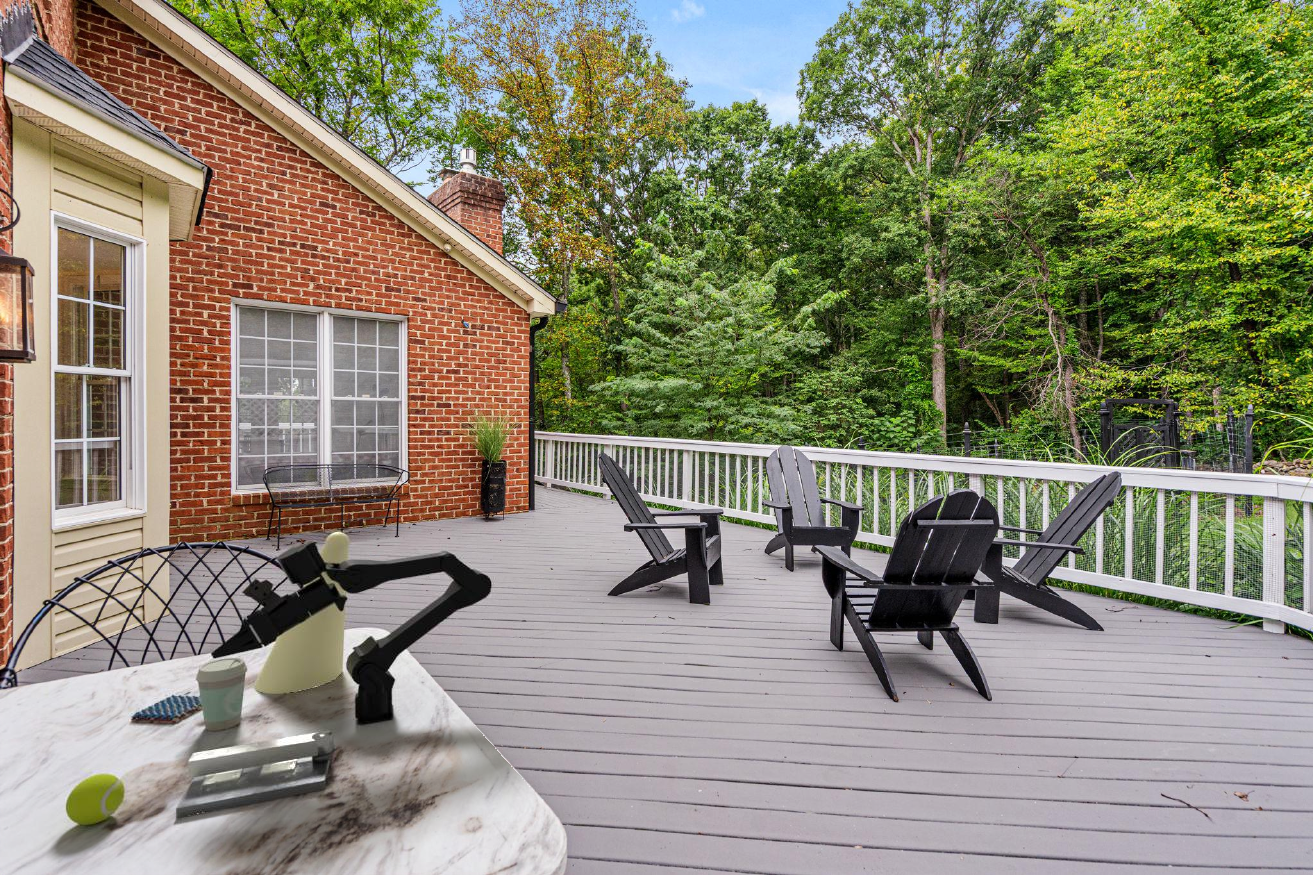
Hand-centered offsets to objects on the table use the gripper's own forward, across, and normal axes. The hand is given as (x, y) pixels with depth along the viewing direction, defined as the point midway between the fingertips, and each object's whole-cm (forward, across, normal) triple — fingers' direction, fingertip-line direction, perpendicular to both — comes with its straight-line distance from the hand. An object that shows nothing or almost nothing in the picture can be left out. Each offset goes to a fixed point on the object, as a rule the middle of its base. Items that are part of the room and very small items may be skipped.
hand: (215, 654), depth 117 cm
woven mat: (+14, -30, +7) cm, 34 cm away
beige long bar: (+1, +9, +20) cm, 22 cm away
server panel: (+2, +8, +22) cm, 24 cm away
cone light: (-9, -35, +16) cm, 40 cm away
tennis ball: (+22, +10, +13) cm, 27 cm away
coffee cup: (+7, -18, +13) cm, 23 cm away
